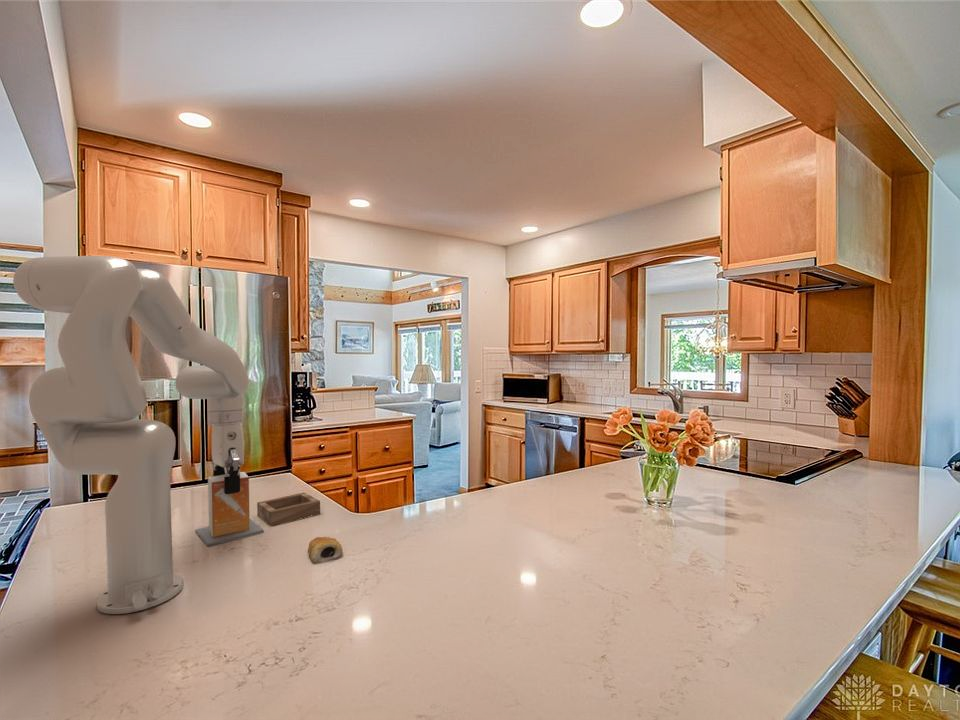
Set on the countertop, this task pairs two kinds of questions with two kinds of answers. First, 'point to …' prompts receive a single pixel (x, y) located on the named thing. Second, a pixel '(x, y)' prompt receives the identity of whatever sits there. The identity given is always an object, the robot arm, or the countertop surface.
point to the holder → (288, 508)
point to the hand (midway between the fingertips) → (226, 489)
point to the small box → (228, 506)
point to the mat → (210, 541)
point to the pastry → (324, 549)
